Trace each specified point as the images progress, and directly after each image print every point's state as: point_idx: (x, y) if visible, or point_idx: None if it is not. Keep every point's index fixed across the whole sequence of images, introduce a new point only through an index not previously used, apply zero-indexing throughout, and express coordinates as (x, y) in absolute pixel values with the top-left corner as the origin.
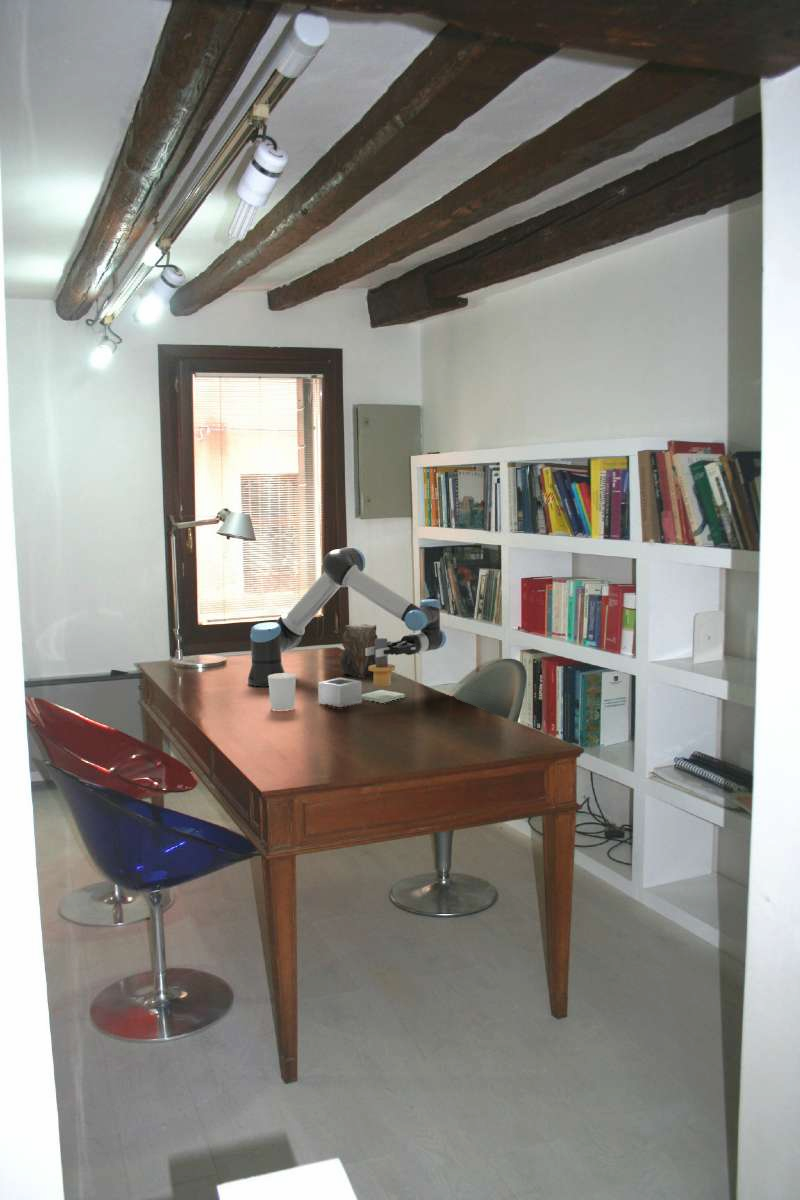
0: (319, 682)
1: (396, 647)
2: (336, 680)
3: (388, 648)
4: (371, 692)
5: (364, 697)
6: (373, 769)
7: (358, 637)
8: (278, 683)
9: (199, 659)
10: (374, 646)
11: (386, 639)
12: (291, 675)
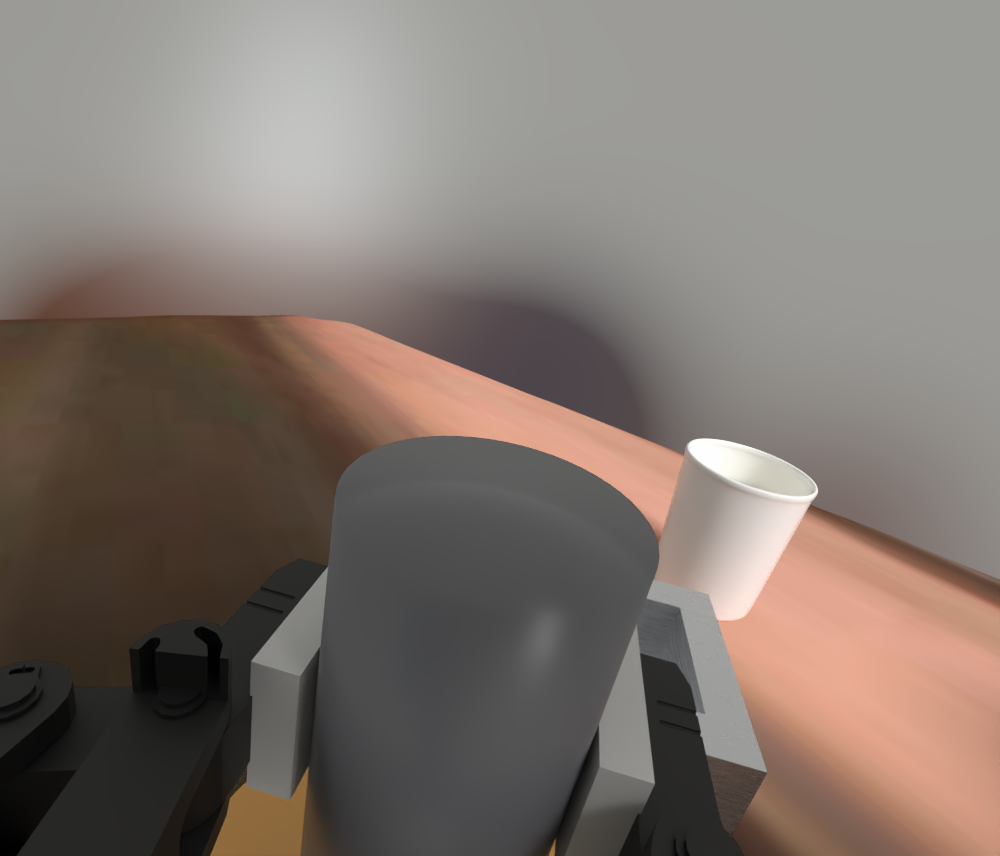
0: (699, 593)
1: (14, 695)
2: (696, 687)
3: (269, 652)
4: None
5: None
6: (185, 329)
7: None
8: (699, 457)
9: None
10: (640, 682)
11: (342, 486)
12: (767, 500)
